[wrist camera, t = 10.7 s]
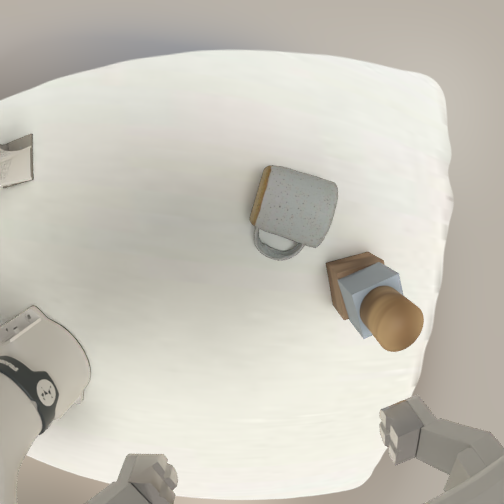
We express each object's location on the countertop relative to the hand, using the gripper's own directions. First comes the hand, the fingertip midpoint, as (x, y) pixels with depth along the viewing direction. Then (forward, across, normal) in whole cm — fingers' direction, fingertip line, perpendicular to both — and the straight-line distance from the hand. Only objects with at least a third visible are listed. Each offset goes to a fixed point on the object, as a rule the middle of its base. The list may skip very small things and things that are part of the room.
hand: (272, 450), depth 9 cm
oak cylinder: (+19, -12, +6) cm, 23 cm away
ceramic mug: (+29, -6, -4) cm, 30 cm away
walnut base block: (+29, -12, +6) cm, 32 cm away
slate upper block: (+24, -12, +6) cm, 28 cm away
